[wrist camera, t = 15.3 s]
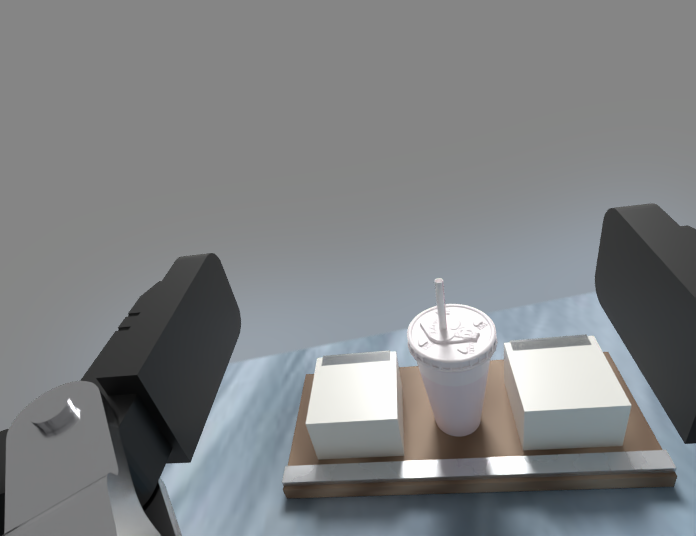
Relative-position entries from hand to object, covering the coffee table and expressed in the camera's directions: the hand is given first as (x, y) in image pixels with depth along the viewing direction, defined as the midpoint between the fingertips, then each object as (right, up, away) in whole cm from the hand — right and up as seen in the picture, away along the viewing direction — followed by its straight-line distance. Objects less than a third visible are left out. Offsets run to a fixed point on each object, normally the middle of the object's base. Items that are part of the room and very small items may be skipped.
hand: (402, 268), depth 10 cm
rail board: (+8, -13, +29) cm, 33 cm away
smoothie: (+8, -13, +29) cm, 32 cm away
